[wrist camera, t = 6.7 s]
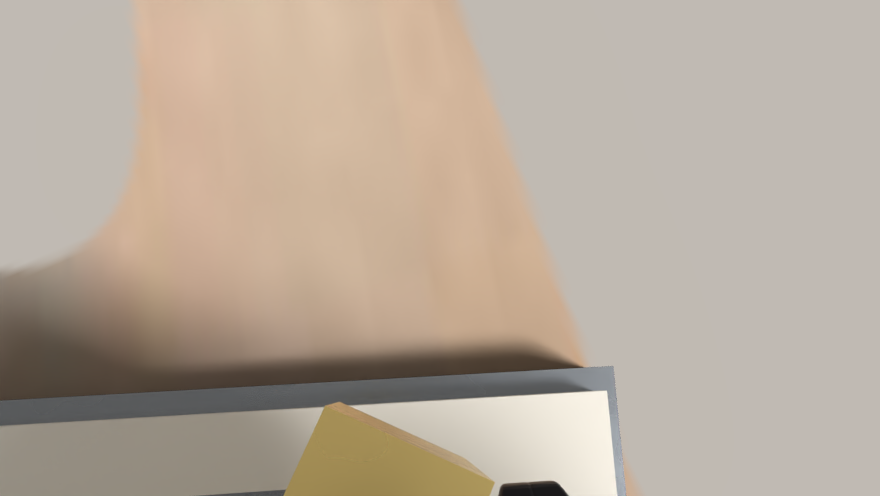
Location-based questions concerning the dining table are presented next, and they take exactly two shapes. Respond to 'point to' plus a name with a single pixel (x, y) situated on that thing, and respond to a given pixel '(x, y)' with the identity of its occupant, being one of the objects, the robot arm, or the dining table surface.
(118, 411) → the grey flat block
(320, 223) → the dining table surface
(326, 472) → the key
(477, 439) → the cover
